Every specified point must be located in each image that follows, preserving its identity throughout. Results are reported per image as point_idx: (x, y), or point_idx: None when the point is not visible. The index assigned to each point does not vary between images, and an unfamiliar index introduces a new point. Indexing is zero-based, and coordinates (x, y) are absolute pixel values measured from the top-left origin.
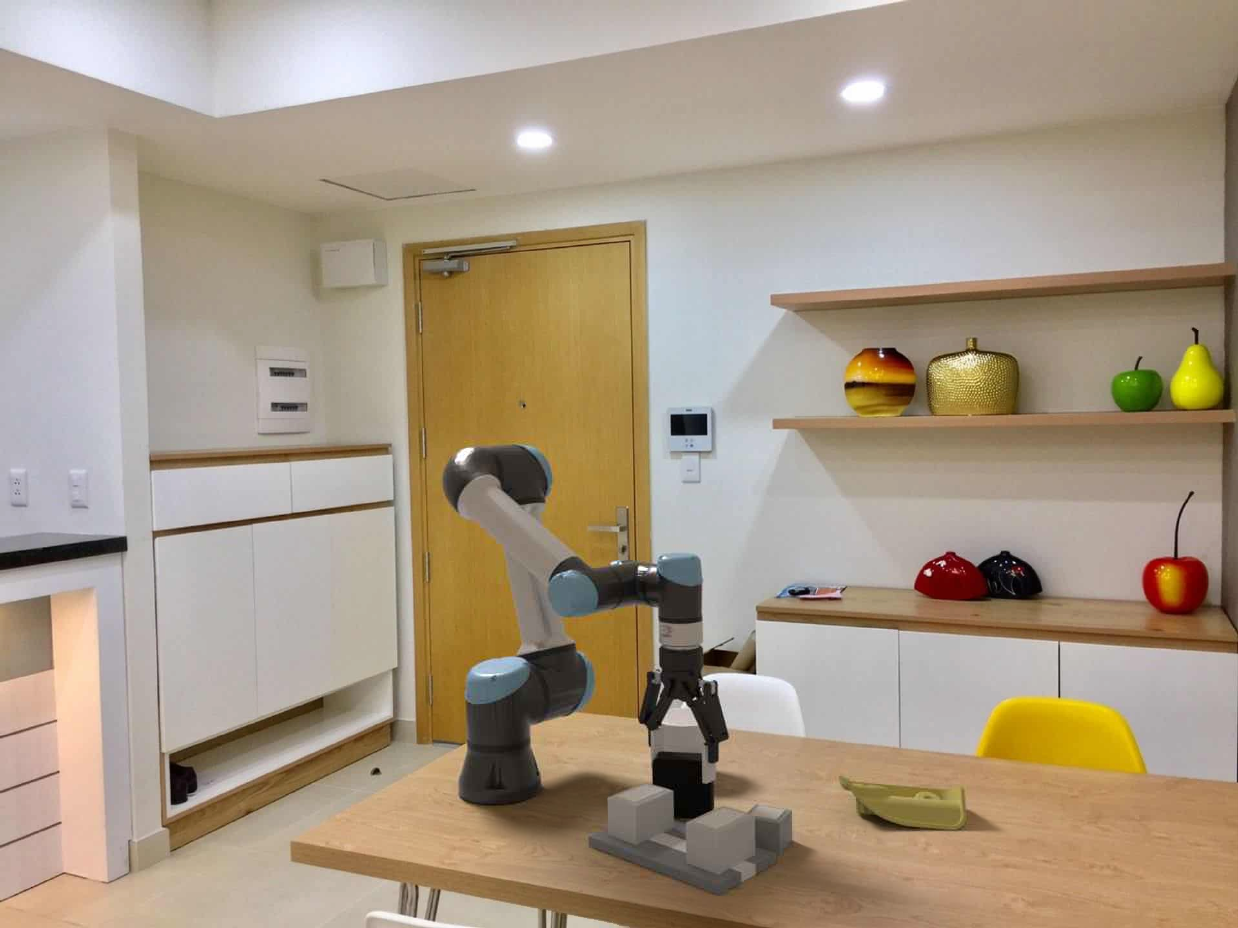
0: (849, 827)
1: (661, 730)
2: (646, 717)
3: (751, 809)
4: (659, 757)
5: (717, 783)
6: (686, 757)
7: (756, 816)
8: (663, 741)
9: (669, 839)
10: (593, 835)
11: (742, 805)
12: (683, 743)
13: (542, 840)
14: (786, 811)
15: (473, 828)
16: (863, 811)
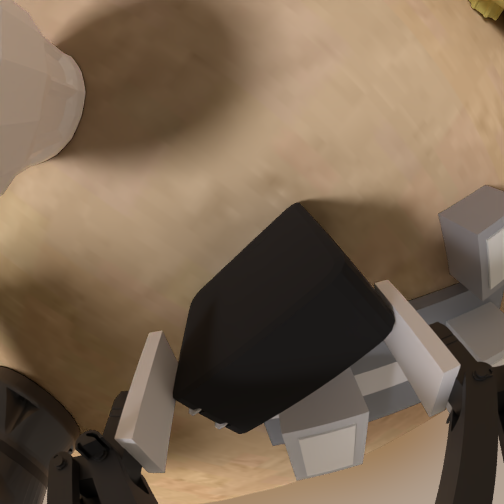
0: (499, 68)
1: (143, 444)
2: (88, 491)
3: (481, 264)
4: (240, 425)
5: (134, 65)
6: (305, 372)
7: (499, 281)
8: (147, 396)
9: (372, 378)
10: (275, 441)
11: (311, 112)
12: (18, 163)
13: (218, 456)
14: None
15: (144, 471)
16: (495, 19)
